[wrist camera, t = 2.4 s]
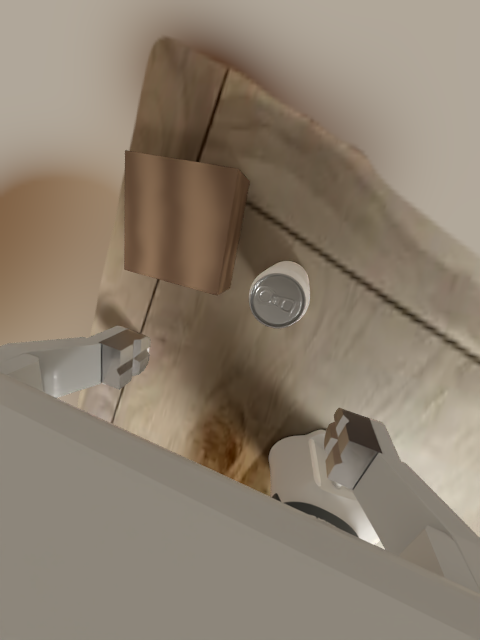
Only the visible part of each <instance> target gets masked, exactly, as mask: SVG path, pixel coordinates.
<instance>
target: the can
mask: <svg viewBox="0 0 480 640" xmlns="http://www.w3.org/2000/svg"><path fill="white" fill-rule="evenodd" d="M309 302H310V286H309V278H308V275H307V273H306V271H305V269H304V268H303V267H302V266H301V265H299V264H297V263H295V262H292V261H282V262H279V263H276V264H274V265H273V266H271V267H269V268H268V269H266V270H265V271H263V272H262V273H261V274H259V275H258V276H257V277H256V279H255V280H254V281H253V283H252V285H251V288H250V291H249V305H250V309H251V312H252V314H253V315H254V317H255V318H256V319H257V320H258V321H259V322H260V323H262V324H263V325H265V326H268V327H271V328H285V327H288V326H290V325H292V324H294V323H295V322H297V321H298V320H300V319H301V318H302V317H303V315H304V314H305V313H306V311H307V309H308V306H309Z"/></svg>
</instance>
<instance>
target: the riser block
mask: <svg viewBox="0 0 480 640" xmlns="http://www.w3.org/2000/svg"><path fill="white" fill-rule="evenodd" d="M249 183H250V181H249V180H248V179H247V178H246V177H245V176H244V175H243V173H242V172H241V171H240V170H239V169H237V168H231V167H225V166H219V165H212V164H206V163H200V162H194V161H188V160H182V159H175V158H169V157H163V156H157V155H151V154H145V153H138V152H132V151H125V257H124V270H128V271H131V272H135V273H138V274H142V275H146V276H149V277H153V278H156V279H160V280H164V281H167V282H171V283H174V284H178V285H182V286H185V287H189V288H192V289H196V290H199V291H203V292H207V293H210V294H214V295H219V294H220V293H222V292H224V291H226V290H227V289H229V288H230V285H231V280H232V274H233V269H234V264H235V258H236V253H237V248H238V242H239V237H240V232H241V226H242V221H243V216H244V210H245V205H246V199H247V194H248V189H249Z"/></svg>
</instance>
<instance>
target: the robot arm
mask: <svg viewBox="0 0 480 640" xmlns="http://www.w3.org/2000/svg"><path fill="white" fill-rule="evenodd" d="M150 343H151V339H150V338H149V337H148V336H145V335H143V334H140V333H138V332H135V331H132V330H129V329H127V328H125V327H122V326H115V327H113V328H110V329H108V330H105V331H103V332H101V333H98V334H96V335H94V336H91V337H89V338H85V337H80V338H69V339H68V338H67V339H56V340H44V341H33V342H21V343H10V344H5V345H2V346H0V640H480V538H479V537H478V536H477V535H476V534H475V533H474V532H473V531H472V530H471V529H470V528H469V527H468V526H467V525H466V524H465V522H464V521H463V520H462V519H461V518H460V517H459V516H458V515H457V514H456V513H455V512H454V511H453V510H452V509H451V508H450V507H449V506H448V505H447V504H446V503H445V502H444V501H443V500H442V499H441V498H440V497H439V496H438V495H437V494H436V493H435V492H434V491H433V490H432V489H431V488H430V487H429V486H428V485H427V484H426V483H425V482H424V481H423V480H422V479H421V478H420V477H419V476H418V475H417V474H416V473H415V472H414V471H413V470H412V469H411V468H410V467H409V466H408V465H407V464H406V463H404V462H401V460H400V458H399V456H398V454H397V451H396V449H395V447H394V445H393V442H392V440H391V438H390V436H389V433H388V431H387V429H386V427H385V425H384V424H383V423H382V422H380V421H377V420H374V419H371V418H368V417H364V416H361V415H359V414H356V413H353V412H350V411H347V410H344V409H342V408H338V409H337V410H336V412H335V414H334V420H335V422H333V423H331V424H329V426H328V428H327V430H326V431H325V430H316V431H314V432H312V433H309V434H307V435H300V436H291V437H287V438H284V439H282V440H280V441H278V442H277V443H276V444H275V445H274V446H273V447H272V449H271V450H270V453H269V465H270V474H271V496H270V497H269V496H267V495H265V494H263V493H261V492H259V491H256V490H254V489H252V488H250V487H248V486H246V485H243V484H241V483H239V482H237V481H235V480H233V479H231V478H228V477H226V476H224V475H222V474H220V473H218V472H215V471H213V470H211V469H209V468H207V467H205V466H202V465H200V464H198V463H196V462H194V461H192V460H189V459H187V458H185V457H183V456H181V455H179V454H176V453H174V452H172V451H170V450H168V449H166V448H163V447H161V446H159V445H157V444H155V443H153V442H150V441H148V440H146V439H144V438H142V437H140V436H137V435H135V434H133V433H131V432H129V431H127V430H124V429H122V428H120V427H118V426H116V425H114V424H111V423H109V422H107V421H105V420H103V419H101V418H98V417H96V416H94V415H92V414H90V413H88V412H85V411H83V410H81V409H79V408H77V407H74V406H72V405H70V404H68V403H66V402H64V401H61V400H59V399H57V398H58V397H61V396H64V395H67V394H70V393H73V392H76V391H79V390H82V389H86V388H89V387H92V386H95V385H98V384H101V383H104V384H106V385H109V386H111V387H114V388H117V389H121V388H122V387H123V386H125V385H126V384H127V383H128V382H130V381H131V379H132V376H134V375H139V374H140V373H141V372H142V371H144V369H145V368H146V366H147V365H148V362H149V356H150V355H149V353H148V351H147V349H148V348H149V347H150ZM379 541H381V543H382V544H383V546H384V548H385V550H384V549H382V548H380V547H378V546H375V544H376V543H377V542H379Z"/></svg>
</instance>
